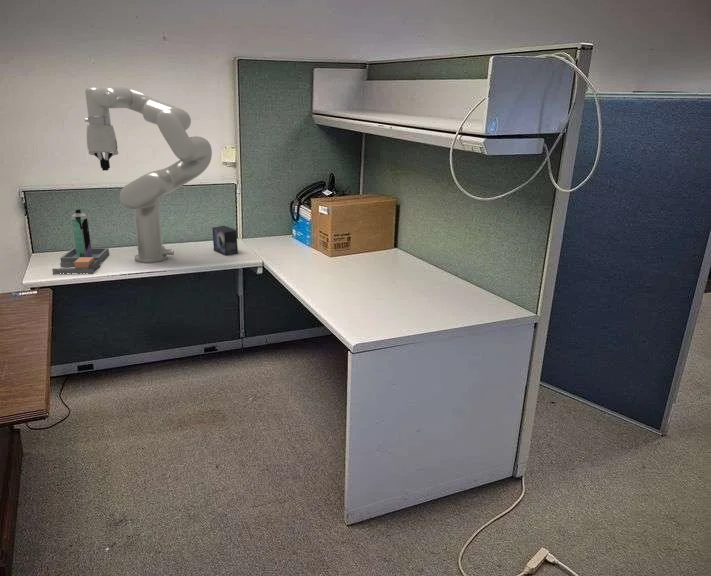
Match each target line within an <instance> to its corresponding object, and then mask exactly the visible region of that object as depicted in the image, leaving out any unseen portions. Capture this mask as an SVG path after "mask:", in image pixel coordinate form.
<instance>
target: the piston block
mask: <svg viewBox="0 0 711 576" xmlns="http://www.w3.org/2000/svg"><path fill="white" fill-rule="evenodd" d="M93 261H94V257H80V258H78V259H77V260H76V261H75V262H74V264H75V268H89V265H90V264H91V263H92V262H93Z"/></svg>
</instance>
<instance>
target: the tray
mask: <svg viewBox="0 0 711 576" xmlns="http://www.w3.org/2000/svg"><path fill="white" fill-rule="evenodd" d="M91 249H92V257H94V260H98V261H99V262H100V265H101V264H102V263H103V262H105V260H106V259H107V258H109V256H110V251H109V250H110V249H109V247H91ZM78 258H80V257H77V252H76V247H75V248H71V249H70V250H69V251H67V252H66V253H64V254H63V255H62V256H60V258H59V259H60V263H61V262H75V261H76V260H77V259H78ZM101 262H102V263H101Z"/></svg>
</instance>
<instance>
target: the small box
mask: <svg viewBox="0 0 711 576" xmlns="http://www.w3.org/2000/svg"><path fill="white" fill-rule="evenodd" d="M211 228H212V242H213V251H214V252H217V253H219V254H221V255H223V256H232V255H236V254H237V255H238V254H239V252H238V250H239V249H238V236H237V235H238V233H237V232H238V231H237V229H235V228H232V227H229V226H227V225H220V226H214V227H211Z"/></svg>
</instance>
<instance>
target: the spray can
mask: <svg viewBox="0 0 711 576" xmlns="http://www.w3.org/2000/svg"><path fill="white" fill-rule="evenodd" d="M88 220H89V219H88V216H87V214H85V213H84V212H83V211H82V209H80V208H77V209H75V212H74V213H73V214H71V223H72V229H73V237H74V244H75V248H76V252H77V257H92V249H91V248H92V244H91V242H92V241H91V236H90V229H89V222H88Z"/></svg>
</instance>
